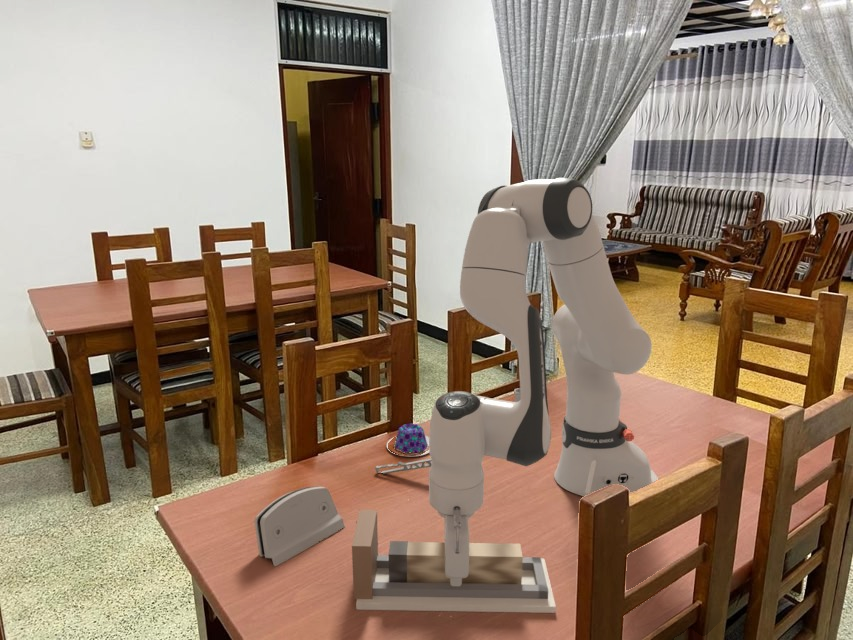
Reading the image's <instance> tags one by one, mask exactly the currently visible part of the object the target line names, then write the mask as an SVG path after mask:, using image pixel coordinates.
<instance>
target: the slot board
mask: <svg viewBox="0 0 853 640" xmlns="http://www.w3.org/2000/svg"><path fill="white" fill-rule="evenodd" d="M378 535H379V534H378V510H376V509H375V510H374V509H359V512H358V516H357V521H356V526H355V530H354V534H353V539H352V544H351V556H352V558H351V560H352V561H351V562H352V584H353V586H352V587H353V600H356V602H355V606H356V607H355V609H356V610H360V611H410V612H411V611H414V612H415V611H420V612H421V611H424V612H476V613H477V612H478V613H479V612H480V613H482V612H483V613H485V612H486V613H535V614H536V613H537V614H538V613H540V614H541V613H542V614H547V613H548V614H550V613H551V614H556V609H557V607H556V602H555V596H554V593H553V590H552V584H551V581H550V576H549V573H548V568H547V564H546V560H545V558H543V557H542V558H541V557H534V556H533V557H532V556H530V557H529V556H528V557H527V556H523V561H522V581H521V584H463V583H462V584H461V586H451V584H450V583H400V582H389V554H379V538H378Z"/></svg>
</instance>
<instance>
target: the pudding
mask: <svg viewBox="0 0 853 640" xmlns="http://www.w3.org/2000/svg"><path fill="white" fill-rule="evenodd" d="M396 436H397V437H396ZM394 437H396V441H395V445H396V449H399V450H401V451H402V452H405V453H409V452H411V453H418V452H419V451H423V452H424V450H425V449H426V450H427V448H428V446H429V435H428V436H427V435H426V434H425V431H424V428H423V427H422V426H421V425H419V424H417V423H406V424H403V425H401V426H400V427H398V430H397V435H394V436H393V437H391V438H390V439H389V440H388V441H387V442H386V449H387V450H388V451H389V452H390V453H391V454H394V455H395V456H396V455H397V456H400V457H405V456H404V455H398V454H395V453H393V452H391V451H390V450H389V449H388V443H389V442H390V441H391V440H392V439H393V438H394ZM427 444H428V445H427ZM395 445H394V446H395ZM426 450H425V451H426ZM419 453H420V452H419ZM419 453H418V454H419ZM427 454H430V453H429V450H428V451H426V452H425V453H423V454H421V455H416V456H406V457H407V458H410V457H411V458H412V457H419V456H420V457H421V456H424V455H427Z"/></svg>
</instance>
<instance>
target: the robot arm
mask: <svg viewBox="0 0 853 640" xmlns="http://www.w3.org/2000/svg"><path fill="white" fill-rule="evenodd" d="M599 230H600V229H599V228H598V225H597V223H596V219H595V218H594V216H593V200H592V197H591V193H590V192H589V190H588V189H587V188H586V186H585V185H584V184H583V183H582V182H581V181H580V180H578V179H576V178H570V177H557V178H555V179H554V178H551V179H550V178H539V179H538V178H537V179H530V180H526V181H524V182H523V181H522V182H518V183H514V184H509V185H500V186H496V187H495V188H492V189H490V190H488V191H487V192H485V194H483V197H482V198H481V200H480V202H479V206H478V209H477V215H476V216H475V217H474V220H473V222H472V224H471V227H470V230H469V233H468V237H467V240H466V244H465V248H464V254H463V259H462V265H461V272H460V281H459V283H460V284H459V295H460V296H459V297H460V300H461V303H462V305H463V306H464V309H465V310H466V311H467V312H468V314H469V315H470V316H471V317H473V319H475V320H476V321H478V322H479V323H481V324H483V325H484V326H486V327H489V328H490V329H492V330H494V331H496V332H497V333H499V334H500V335H503V336H504V337H505V338H507V340H508V341H510V342H511V343H512V345H513V347H515V350H516V351H517V356H518V374H519V375H518V376H519V388H520V397H521V399H520V401H519V402H514V401H510V400H504V399H496V398H490V397H488V396H481V395H475V394H474V393H471V392H468V391H464V390H463V391H462V390H457V391H456V390H454V391H450V392H446V393H444V394H442V395H441V396H439V397H438V398H437V399H436V400H435V402H434V405H433V408H432V410H431V411H432V413H431V418H430V425H429V435H428V437H429V453H428V454H429V456H430V459H431V462H432V464H431V467H429V468H430V469H429V470H428V471H429V472H428V502H429V505H430V506H431V507H432V508H433V509H434V510H435V511H436V512H437V513H438V515H439V516H440V517H442V518H444V543H445V575H446V577H448V578H450V584H451V586H461V584H462V578H467V577H468V574H469V543H470V527H469V526H470V525H469V519H470V518H471V517H472V516H474V514H475V513H476V512H477V511H479V510H480V509H481V508H482V506H483V504H484V494H485V493H484V489H485V487H484V485H485V472H484V468H483V459H484V456H485V457H491V458H496V459H502V460H506V461H507V462H511V463H514V464H517V465H519V466H520V465H521V466H524V467H528V466H532V465H533V464H535V463H537V462H539V461H540V460H542V459H544V457H546V456H547V454H548V452H549V449H550V446H551V441H552V425H551V421H550V414H549V413H550V412H549V404H548V394H547V393H548V391H547V390H548V388H547V370H546V369H547V368H546V353H545V351H546V350H545V349H546V348H545V339H544V328H543V327H544V326H543V322H542V317H541V314H540V311H539V309H537V308H536V307H534V306H533V305H532V304H531V302H530V299H529V297H528V293H527V289H526V287H527V286H526V278H527V277H526V276H527V270H528V258H529V257H528V256H529V255H528V252H529V250H528V247H529V245H530V244H534V243H538V242H542V244H543V245H542V247H543V249H544V255H545V257H546V260H547V264H548V268H549V271H550V274H551V278H552V280H553V284H554V286H555V287H554V288H555V290H556V293H557V295H558V298H559V300H560V301H561V302H562V303H563V305H561V306H560V307H558V309H557V311H556V312H555V314H554V315H553V317H552V323H551V328H552V329H551V330H552V333H553V336H555V338H556V340H557V343H558V345H559V348H560V352H561V356H562V361H563V366H564V371H565V376H566V377H565V379H566V384H567V385H566V386H567V390H566V411H565V416H564V418H563V422H562V423H563V425H562V429H561V430H562V431H561V441H562V447H561V452H560V457H559V460H558V464H557V467H556V469H555V471H554V474H553V475H554V480H555V482H556V483H557V484H558V485H559V486H560V487H561V488H563V489H564V490H565V491H569V492H571V493H573V494H575V495H579V496H580V497H581V496H582V497H583V498H585V497H584V496H585V495H588V494H590V493H592V492H594V491H597V490H599V489H601V488H604V487H606V486H609V485H612V484H619V485H623V486H625V487H627V488H628V489H629V490H630V492H633V491H637V490H638V489H640V488H643V487H645V486H647V485H649V484H651V483H652V482H654V481H656V480H658V479H659V477H658V475H657V474H656V473H655V472H654V470H653V469H652V468H651V464H650V461H649V457H648V456H647V454H646V453H645V452H644V451H643V450H642V449H641V448H640V447H639V446H638V445H637V444H635V442H633V440H634V438H635V435H634V433H633V431H632V430H631V429H629V428H628V426H627V425H626V424H625V423H624V422H623V421H622V419H620V414H621V413H620V412H621V411H620V410H621V400H622V389H621V386H620V383H619V382H618V379H617V378H616V376H615V374H620V375H625V376H626V375H627V376H628V375H632V374H636V373H637V372H639V371H640V370H642V368H644V367H645V366H646V364H647V363H648V361H649V359H650V357H651V353H652V349H653V348H652V345H653V344H652V339H651V337H650V336H649V333H647V331H646V330H645V329H644V328H643V327H642V326H641V325H640V324H639V323H638V321H637V320H636V318H635V317H634V316H633V313H632V312H631V311H630V308H629V307H628V305H627V303H626V302H625V299H624V298H623V296H622V295H621V292H620V291H619V289H618V287H617V285H616V283H615V281H614V278H613V275H612V271H611V267H610V264H609V261H608V258H607V253H606V250H605V247H604V244H603V238H602V236H601V233H600V231H599Z"/></svg>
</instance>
